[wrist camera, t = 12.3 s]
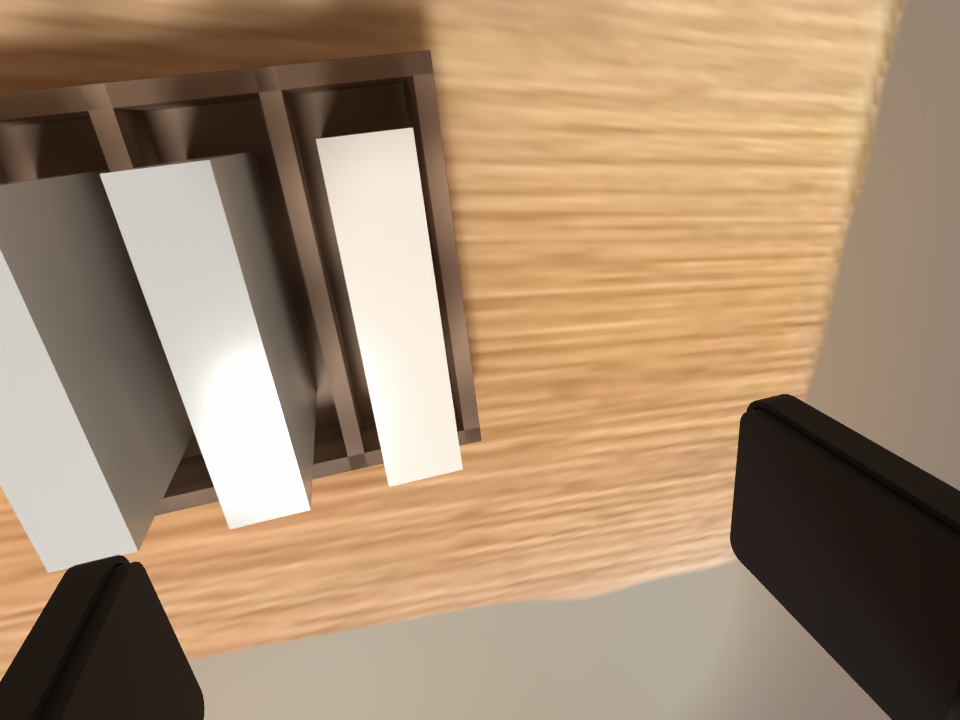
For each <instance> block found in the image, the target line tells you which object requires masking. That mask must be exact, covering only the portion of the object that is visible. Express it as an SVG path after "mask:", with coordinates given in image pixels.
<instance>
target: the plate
mask: <svg viewBox="0 0 960 720" xmlns="http://www.w3.org/2000/svg"><path fill="white" fill-rule="evenodd" d="M316 143H317V148H318V152H319V157H320V162H321V167H322V171H323V176H324V181H325V186H326V190H327V195H328V200H329V205H330V209H331V214H332V219H333V223H334V228H335V233H336V238H337V242H338V247H339V252H340V257H341V261H342V266H343V271H344V276H345V280H346V285H347V290H348V295H349V299H350V304H351V309H352V314H353V318H354V323H355V328H356V333H357V337H358V342H359V347H360V352H361V356H362V361H363V366H364V371H365V375H366V380H367V385H368V390H369V394H370V399H371V404H372V409H373V413H374V418H375V423H376V428H377V432H378V437H379V442H380V446H381V451H382V456H383V461H384V465H385V470H386V475H387V480H388V484H389V487H390V486H395V485H399V484H403V483H407V482H412V481H416V480H420V479H424V478H429V477H433V476H437V475H441V474H446V473H450V472H454V471H458V470H463V468H462V461H461V454H460V448H459V441H458V434H457V427H456V420H455V413H454V406H453V400H452V393H451V386H450V379H449V372H448V365H447V358H446V351H445V345H444V338H443V331H442V324H441V317H440V310H439V303H438V296H437V290H436V283H435V276H434V269H433V262H432V255H431V248H430V241H429V235H428V228H427V221H426V214H425V207H424V200H423V193H422V186H421V180H420V173H419V166H418V159H417V152H416V145H415V138H414V132H413V128H403V129H393V130H384V131H375V132H367V133H359V134H350V135H342V136H334V137H325V138H319V139H316Z"/></svg>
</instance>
